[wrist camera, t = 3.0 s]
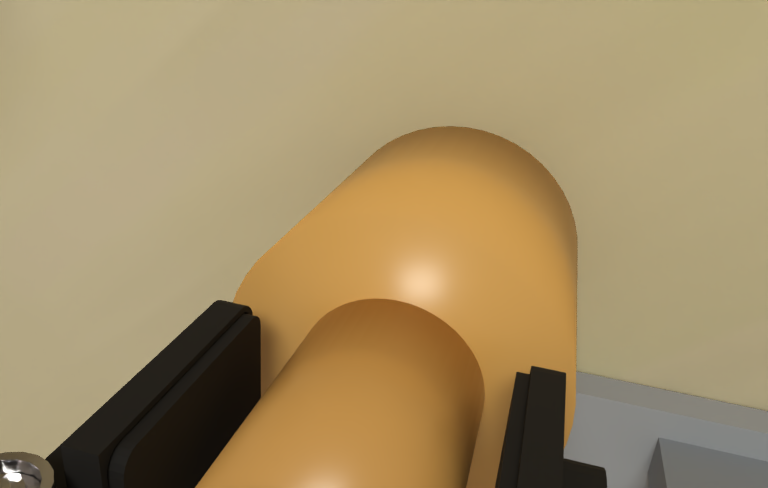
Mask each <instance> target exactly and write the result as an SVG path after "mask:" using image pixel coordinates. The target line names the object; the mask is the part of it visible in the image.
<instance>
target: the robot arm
mask: <svg viewBox="0 0 768 488" xmlns="http://www.w3.org/2000/svg"><path fill="white" fill-rule="evenodd" d="M260 398H261V322H260V318H259V317H258V316H253V312H252V310H251V308H250V307H249V306H246V305H241V304H236V303H232V302H227V301H222V300H217V301H216V302H214V303H213V304H212V305H211V306H210V307H209V308H208V309H207V310H206V311H204V312H203V313H202V314H201V315H200V316H199V317H198V318H197V319H196V320H195V321H194V322H193V323H192V324H190V325H189V326H188V327H187V328H186V329H185V330H184V331H183V332H182V333H181V334H180V335H179V336H177V337H176V338H175V339H174V340H173V341H172V342H171V343H170V344H169V345H168V346H167V347H166V348H165V349H163V350H162V351H161V352H160V353H159V354H158V355H157V356H156V357H155V358H154V359H153V360H152V361H151V362H149V363H148V364H147V365H146V366H145V367H144V368H143V369H142V370H141V371H140V372H139V373H137V374H136V375H135V376H134V377H133V378H132V379H131V380H130V381H129V382H128V383H127V384H126V385H125V386H123V387H122V388H121V389H120V390H119V391H118V392H117V393H116V394H115V395H114V396H113V397H112V398H110V399H109V400H108V401H107V402H106V403H105V404H104V405H103V406H102V407H101V408H100V409H99V410H98V411H96V412H95V413H94V414H93V415H92V416H91V417H90V418H89V419H88V420H87V421H86V422H85V423H84V424H82V425H81V426H80V427H79V428H78V429H77V430H76V431H75V432H74V433H73V434H72V435H71V436H70V437H68V438H67V439H66V440H65V441H64V442H63V443H62V444H61V445H60V446H59V447H58V448H57V449H56V450H54V451H53V452H52V453H51V454H50V455H49V456H48V457H47V458H46V459H43V458H42V457H40V456H38V455H35V454H30V453H26V452H5V453H0V488H195V487H196V486H197V484H198V483H199V481H200V480H201V479H202V477H203V476H204V475H205V473H206V472H207V471H208V469H209V468H210V466H211V465H212V464H213V462H214V461H215V460H216V458H217V457H218V456H219V454H220V453H221V451H222V450H223V449H224V447H225V446H226V445H227V443H228V442H229V441H230V439H231V438H232V437H233V435H234V434H235V432H236V431H237V430H238V428H239V427H240V426H241V424H242V423H243V422H244V420H245V419H246V417H247V416H248V415H249V413H250V412H251V411H252V409H253V408H254V407H255V405H256V404H257V402H258V401H259V400H260ZM565 399H566V373H565V372H560V371H556V370H551V369H546V368H541V367H537V366H531V370H530V374H526V373H521V372H516V377H515V383H514V388H513V393H512V399H511V404H510V409H509V415H508V420H507V425H506V431H505V436H504V441H503V447H502V452H501V457H500V463H499V468H498V473H497V479H496V484H495V488H607V476H606V470H605V468H604V467H599V466H595V465H591V464H587V463H582V462H578V461H574V460H570V459H565V458H564V428H565Z"/></svg>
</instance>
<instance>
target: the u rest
mask: <svg viewBox="0 0 768 488" xmlns="http://www.w3.org/2000/svg"><path fill="white" fill-rule="evenodd" d="M564 458H565V459H570V460H574V461H578V462H582V463H587V464H591V465H595V466H599V467H604V468H605V470H606V476H607V488H768V411H764V410H759V409H754V408H750V407H745V406H740V405H735V404H730V403H726V402H721V401H716V400H711V399H706V398H702V397H697V396H692V395H687V394H682V393H678V392H673V391H668V390H663V389H659V388H654V387H649V386H644V385H639V384H635V383H630V382H625V381H620V380H615V379H611V378H606V377H601V376H596V375H591V374H587V373H582V372H577V371H576V407H575V413H574V420H573V426H572V429H571V432H570V435H569V438H568V441H567V444H566V446H565V448H564Z"/></svg>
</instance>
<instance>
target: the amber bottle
mask: <svg viewBox="0 0 768 488" xmlns="http://www.w3.org/2000/svg"><path fill="white" fill-rule="evenodd" d="M233 303H236V304H241V305H246V306H249V307H250V308H251V310H252V312H253V316H258V317H259V318H260V322H261V398H260V400H259V401H258V402H257V404H256V405H255V407H254V408H253V409H252V411H251V412H250V413H249V415H248V416H247V417H246V419H245V420H244V422H243V423H242V424H241V426H240V427H239V428H238V430H237V431H236V432H235V434H234V435H233V437H232V438H231V439H230V441H229V442H228V443H227V445H226V446H225V447H224V449H223V450H222V451H221V453H220V454H219V456H218V457H217V458H216V460H215V461H214V462H213V464H212V465H211V466H210V468H209V469H208V471H207V472H206V473H205V475H204V476H203V477H202V479H201V480H200V481H199V483H198V484H197V486H196V487H195V488H495V484H496V479H497V473H498V468H499V463H500V457H501V452H502V447H503V441H504V436H505V431H506V425H507V420H508V415H509V409H510V404H511V399H512V393H513V388H514V383H515V377H516V372H521V373H526V374H530V370H531V366H537V367H541V368H546V369H551V370H556V371H560V372H565V373H566V399H565V428H564V448H565V446H566V444H567V441H568V438H569V435H570V432H571V429H572V426H573V420H574V413H575V407H576V339H577V232H576V226H575V221H574V217H573V214H572V211H571V208H570V205H569V203H568V201H567V199H566V197H565V195H564V193H563V191H562V189H561V188H560V186H559V185H558V183H557V182H556V180H555V179H554V177H553V176H552V175H551V174H550V173H549V172H548V170H547V169H546V168H545V167H544V166H543V165H542V164H541V163H540V162H539V161H538V160H537V159H535V158H534V157H533V156H532V155H531V154H530V153H528V152H527V151H525V150H524V149H522V148H521V147H519V146H518V145H516V144H514V143H512V142H510V141H508V140H506V139H504V138H502V137H500V136H497V135H494V134H492V133H489V132H486V131H482V130H477V129H472V128H467V127H454V126H446V127H432V128H427V129H422V130H417V131H414V132H411V133H408V134H406V135H403V136H401V137H399V138H397V139H395V140H393V141H391V142H389V143H387V144H386V145H384V146H383V147H381V148H380V149H379V150H377V151H376V152H375V153H374V154H373V155H371V156H370V157H369V158H368V159H367V160H366V161H365V162H364V163H363V164H362V165H361V166H359V167H358V168H357V169H356V170H355V171H354V172H353V173H352V174H351V175H350V176H349V177H348V178H346V179H345V180H344V181H343V182H342V183H341V184H340V185H339V186H338V187H337V188H336V189H335V190H333V191H332V192H331V193H330V194H329V195H328V196H327V197H326V198H325V199H324V200H323V201H322V202H320V203H319V204H318V205H317V206H316V207H315V208H314V209H313V210H312V211H311V212H310V213H309V214H307V215H306V216H305V217H304V218H303V219H302V220H301V221H300V222H299V223H298V224H297V225H296V226H294V227H293V228H292V229H291V230H290V231H289V232H288V233H287V234H286V235H285V236H284V237H282V238H281V239H280V240H279V241H278V242H277V243H276V244H275V245H274V246H273V247H272V248H271V249H269V250H268V251H267V252H266V253H265V254H264V255H263V256H262V257H261V258H260V259H259V260H258V261H257V262H256V263H255V265H254V266H253V267H252V268H251V270H250V271H249V272H248V273H247V275H246V276H245V278H244V280H243V282H242V283H241V285H240V287H239V289H238V291H237V293H236V295H235V298H234V301H233Z"/></svg>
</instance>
